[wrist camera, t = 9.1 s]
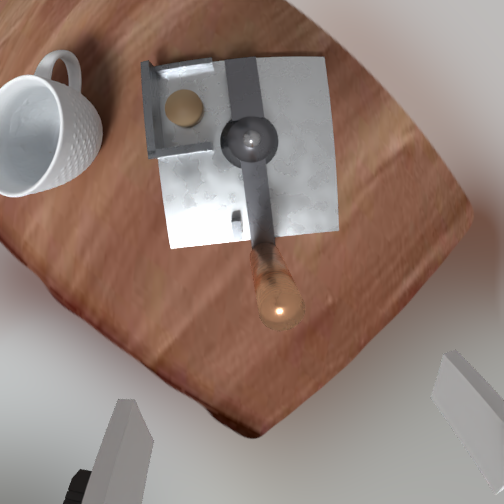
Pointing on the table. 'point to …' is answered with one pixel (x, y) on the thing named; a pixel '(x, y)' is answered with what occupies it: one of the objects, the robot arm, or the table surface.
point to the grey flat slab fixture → (229, 167)
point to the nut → (184, 108)
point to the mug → (46, 129)
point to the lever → (260, 197)
